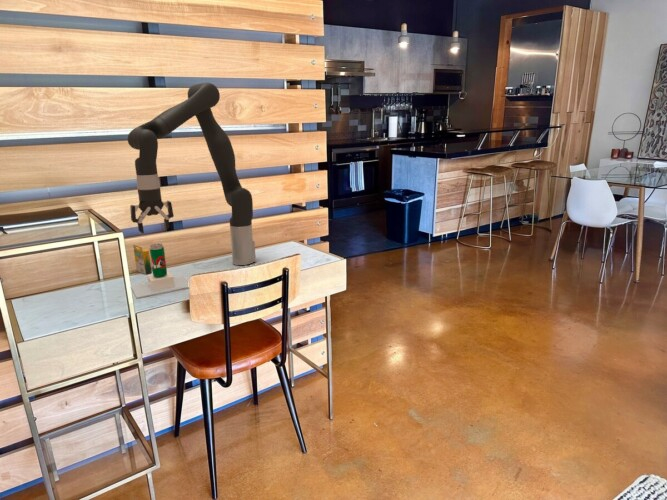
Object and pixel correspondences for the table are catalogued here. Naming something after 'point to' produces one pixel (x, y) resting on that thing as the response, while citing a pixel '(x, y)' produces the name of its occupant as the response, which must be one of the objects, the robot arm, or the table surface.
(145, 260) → the crayon box
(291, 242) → the table surface
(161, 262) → the soda can
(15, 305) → the table surface
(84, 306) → the table surface
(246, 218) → the robot arm
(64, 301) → the table surface
